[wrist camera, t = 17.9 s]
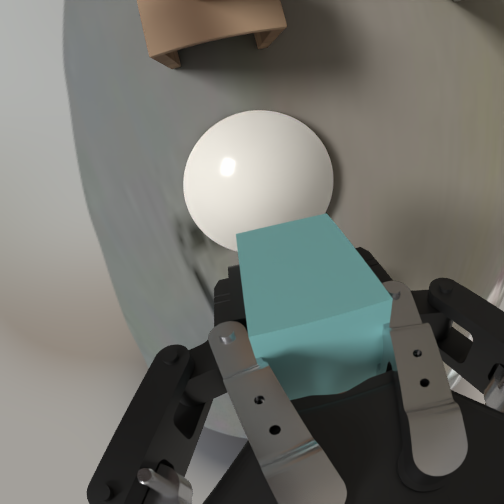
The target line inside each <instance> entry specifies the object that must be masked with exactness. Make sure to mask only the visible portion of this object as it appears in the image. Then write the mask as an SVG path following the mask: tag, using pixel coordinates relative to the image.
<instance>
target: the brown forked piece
mask: <svg viewBox="0 0 504 504" xmlns="http://www.w3.org/2000/svg"><path fill="white" fill-rule="evenodd" d="M137 3H138V8H139V13H140V17H141V22H142V26H143V31H144V35H145V40H146V44H147V48H148V52H149V57H151V58H152V59H154V60H156V61H158V62H160V63H162V64H163V65H165V66H167V67H169V68H171V69H174V68H178V67H181V63H180V59H179V55H178V51H177V50H179V49H183V48H187V47H190V46H194V45H198V44H202V43H206V42H210V41H214V40H219V39H223V38H228V37H233V36H239V35H244V34H250V33H254V35H255V39H256V43H257V48H258V49H262V48H268V46H269V45H270V44H271V43H272V42H273V41H274V40H275V39H276V38H277V37H278V36H279V35H280V34H281V32H282V31H283V30H284V29H285V28H286V27H287V24H286V20H285V16H284V12H283V9H282V5H281V1H280V0H137Z"/></svg>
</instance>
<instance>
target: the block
mask: <svg viewBox="0 0 504 504" xmlns="http://www.w3.org/2000/svg"><path fill="white" fill-rule="evenodd" d="M236 240H237V249H238V257H239V265H240V274H241V282H242V290H243V298H244V306H245V314H246V321H247V329H248V337H249V340H250V343H251V346H252V349H253V352H254V355H255V358H260V357H262V359H263V361H264V362H267V363H268V364H269V366H270V368H271V369H272V371H273V373H274V374H275V376H276V378H277V379H278V381H279V383H280V385H281V386H282V388H283V390H284V391H285V393H286V395H287V396H288V398H289V400H293V399H298V398H302V397H306V396H310V395H329V394H338V393H342V392H345V391H348V390H350V389H352V388H353V387H355V386H357V385H358V384H360V383H362V382H363V381H365V380H367V379H368V378H371V377H374V376H376V375H377V373H376V370H377V364H379V363H381V360H382V354H383V337H382V331H383V324H386V323H389V322H390V317H391V309H392V300H393V298H392V297H391V296H390V294H389V293H388V291H387V290H386V289H385V287H384V286H383V285H382V283H381V282H380V281H379V279H378V278H377V276H376V275H375V274H374V272H373V271H372V270H371V269H370V267H369V266H368V265H367V263H366V262H365V261H364V259H363V258H362V257H361V255H360V254H359V253H358V252H357V250H356V249H355V248H354V246H353V245H352V244H351V243H350V241H349V240H348V239H347V238H346V236H345V235H344V234H343V233H342V231H341V230H340V229H339V228H338V227H337V225H336V224H335V223H334V222H333V220H332V219H331V218H330V217H329V216H328V214H327V213H326V214H321V215H317V216H312V217H308V218H303V219H299V220H294V221H290V222H286V223H281V224H277V225H272V226H268V227H264V228H259V229H255V230H251V231H247V232H242V233H238V234H236Z"/></svg>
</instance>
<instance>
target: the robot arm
mask: <svg viewBox="0 0 504 504" xmlns="http://www.w3.org/2000/svg"><path fill="white" fill-rule="evenodd" d="M453 1H454V2H457V1H462V0H453ZM355 249H356V250H357V252H358V253H359V254H360V255H361V257H362V258H363V259H364V261H365V262H366V263H367V265H368V266H369V267H370V269H371V270H372V271H373V272H374V274H375V275H376V276H377V278H378V279H379V281H380V282H381V283H382V285H383V286H384V287H385V289H386V290H387V291H388V293H389V294H390V296H391V297H392V298H393V300H392V309H391V317H390V322H389V323H386V324H383V331H382V337H383V354H382V360H381V363H379V364H377V370H376V373H377V375H376V376H374V377H371V378H368V379H367V380H365V381H363V382H362V383H360V384H358V385H357V386H355V387H353V388H352V389H350V390H348V391H346V392H344V393H341V394H329V395H310V396H306V397H302V398H298V399H293V400H289V398H288V396H287V395H286V393H285V391H284V390H283V388H282V386H281V385H280V383H279V381H278V379H277V378H276V376H275V374H274V373H273V371H272V369H271V368H270V366H269V364H268V363H267V362H264V361H263V359H262V357H260V358H255V355H254V352H253V349H252V346H251V343H250V340H249V337H248V329H247V321H246V314H245V306H244V298H243V290H242V282H241V274H240V265H239V264H238V265H234V266H229V267H228V275H229V278H227V279H223V280H219V281H218V283H217V285H216V286H215V288H214V297H215V298H214V328H213V329H212V330H211V331H210V333H209V336H208V340H207V341H206V342H205V343H203V344H202V345H200V346H197V347H195V348H193V349H191V350H188V349H187V348H186V347H185V346H182V345H170V346H167V347H165V348H164V349H162V350H161V351H160V352H159V353H158V354H157V355H156V357H155V358H154V360H153V362H152V364H151V366H150V368H149V369H148V371H147V373H146V375H145V377H144V379H143V380H142V382H141V384H140V386H139V388H138V390H137V392H136V393H135V396H134V397H133V399H132V401H131V403H130V405H129V407H128V408H127V411H126V412H125V414H124V416H123V418H122V420H121V422H120V424H119V426H118V428H117V430H116V431H115V434H114V435H113V437H112V439H111V442H110V443H109V445H108V447H107V449H106V451H105V453H104V455H103V457H102V459H101V461H100V463H99V465H98V467H97V469H96V471H95V473H94V475H93V477H92V479H91V481H90V483H89V485H88V488H87V499H88V501H89V504H192V495H193V490H192V486H191V484H190V482H189V481H188V480H187V479H186V478H184V477H185V474H186V471H187V468H188V466H189V464H190V461H191V458H192V456H193V453H194V450H195V447H196V445H197V442H198V439H199V437H200V434H201V431H202V429H203V426H204V423H205V421H206V418H207V415H208V412H209V410H210V407H211V404H212V401H213V399H214V398H216V397H218V396H220V395H222V394H225V393H227V392H228V394H229V397H230V399H231V402H232V404H233V406H234V409H235V411H236V413H237V416H238V418H239V420H240V423H241V425H242V427H243V429H244V432H245V434H246V436H247V438H248V441H247V443H246V444H245V445H244V447H243V449H242V450H241V451H240V453H239V454H238V456H237V457H236V459H235V460H234V462H233V463H232V464H231V466H230V467H229V469H228V470H227V471H226V473H225V474H224V476H223V477H222V478H221V480H220V481H219V482H218V484H217V485H216V487H215V488H214V489H213V491H212V492H211V493H210V495H209V496H208V497H207V498H206V500H205V501H204V502H203V504H504V312H503V311H502V310H500V309H499V308H497V307H496V306H494V305H493V304H491V303H489V302H488V301H486V300H485V299H483V298H482V297H480V296H478V295H477V294H475V293H473V292H472V291H470V290H469V289H467V288H465V287H464V286H462V285H460V284H459V283H457V282H455V281H454V280H451V279H448V278H438V279H435V280H433V281H432V282H431V283H430V286H429V290H419V291H411V290H410V289H409V287H408V286H407V285H405V284H404V283H402V282H398V281H393V280H392V279H391V278H390V276H389V275H388V274H387V273H386V271H385V270H384V269H383V268H382V266H381V265H380V264H379V263H378V262H377V260H376V259H375V258H374V257H373V256H372V254H371V253H370V252H369V251H367V250H365V249H363V248H361V247H359V248H355ZM453 321H454V322H455V323H457V324H458V325H460V326H461V327H463V328H464V329H465V330H467V331H468V332H469V333H470V334H471V335H472V337H473V342H472V341H471V340H470V339H468V338H467V337H465V336H464V335H463V334H461V333H460V332H458V331H457V330H456V329H454V328H453V327H452V323H453ZM443 362H445V363H446V364H447V365H448V366H450V367H451V368H452V369H453V370H454V371H456V372H457V373H458V374H459V375H461V376H462V377H463V378H464V379H466V380H467V381H468V382H469V383H470V384H472V385H473V386H474V387H475V388H477V389H478V390H479V391H480V392H481V393H482V394H484V399H485V402H486V403H485V405H484V404H482V403H479V402H477V401H474V400H473V399H470V398H468V397H466V396H463V395H461V394H458V393H457V392H454V391H452V390H451V389H450V386H449V382H448V378H447V375H446V371H445V368H444V365H443Z"/></svg>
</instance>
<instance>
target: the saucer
mask: <svg viewBox="0 0 504 504" xmlns="http://www.w3.org/2000/svg"><path fill="white" fill-rule="evenodd" d="M183 186H184V196H185V201H186V204H187V207H188V210H189V212H190V214H191V216H192V218H193V220H194V221H195V223H196V224H197V226H198V227H199V228H200V229H201V230H202V231H203V233H204V234H206V235H207V236H208V237H209V238H210V239H212V240H213V241H215V242H216V243H218V244H219V245H221V246H224V247H226V248H228V249H231V250H234V251H237V252H238V249H237V240H236V234H238V233H242V232H247V231H251V230H255V229H259V228H264V227H268V226H272V225H277V224H281V223H286V222H290V221H294V220H299V219H303V218H308V217H312V216H317V215H321V214H325V212H326V210H327V208H328V206H329V203H330V200H331V196H332V192H333V169H332V164H331V160H330V157H329V155H328V152H327V150H326V148H325V146H324V145H323V143H322V142H321V140H320V139H319V138H318V136H317V135H316V134H315V133H314V132H313V131H312V130H311V129H310V128H309V127H307V126H306V125H305V124H303V123H302V122H300V121H299V120H297V119H295V118H293V117H290V116H288V115H285V114H282V113H279V112H274V111H268V110H250V111H244V112H240V113H236V114H233V115H231V116H228V117H226V118H224V119H222V120H221V121H219V122H217V123H216V124H214V125H213V126H212V127H211V128H209V129H208V130H207V131H206V132H205V133H204V134H203V135H202V136H201V138H200V139H199V140H198V142H197V143H196V145H195V146H194V148H193V150H192V152H191V154H190V156H189V158H188V161H187V164H186V168H185V172H184V182H183Z"/></svg>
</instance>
